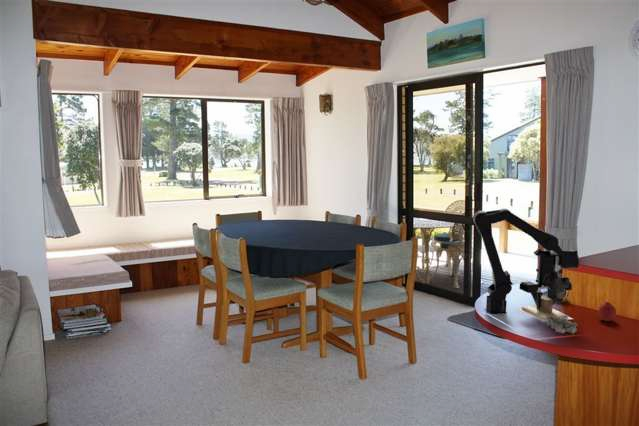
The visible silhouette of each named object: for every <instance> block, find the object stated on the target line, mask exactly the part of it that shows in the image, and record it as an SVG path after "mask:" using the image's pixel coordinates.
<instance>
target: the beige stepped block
mask: <svg viewBox="0 0 639 426" xmlns="http://www.w3.org/2000/svg"><path fill="white" fill-rule="evenodd" d="M553 307H554V304H553V299H550V298H548V297H546V296H541V306H540V309H538V308H537V306H536V305H529V306H522V307H521V308H522V310H524V311H526V312H528V313H530V314H532V315H534V316H536V317H538V318H540V319H542V320H548V319H547V317H546V316H549V317H557V318H558V317H560V319H562V318H567V317H569V316H568V315H567V314H565V313H563V312H561V311H558V310H557V309H555V308H553Z"/></svg>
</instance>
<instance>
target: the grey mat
mask: <svg viewBox="0 0 639 426" xmlns="http://www.w3.org/2000/svg"><path fill="white" fill-rule="evenodd" d="M515 309H516V310H517V311H520V312H522V313H525V314H526V315H528V316H530V317H532V318H534V319H536V320H538V321H540V322H543V323H545V322H546V323H547V320H542V319H540V318H538V317H536V316H534V315H532V314H530V313H528V312H526V311H524V310H522V307H516V308H515ZM564 319H566V321H570V320H574V318H572V317H570V316H568V317H567V318H564Z"/></svg>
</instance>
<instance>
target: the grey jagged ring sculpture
mask: <svg viewBox="0 0 639 426" xmlns="http://www.w3.org/2000/svg"><path fill="white" fill-rule="evenodd" d="M546 317H547V319H548V320H547V322H546V325H547V326H550V328H551V329H554V330H555V332H556V333H561V334H566V333H570V335H572V336H574V335H575V333H577V327H578V326H579V323H577V322H573V321H572V322H571V321H570V320H566V319H564V318H562V319H560V317H558V318H557V317H549V316H546ZM563 326H564V327H565V328H563Z"/></svg>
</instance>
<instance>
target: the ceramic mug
mask: <svg viewBox="0 0 639 426" xmlns="http://www.w3.org/2000/svg"><path fill="white" fill-rule="evenodd" d="M542 292H543V295H542V296H546V297H548V290H546V291H542ZM565 295H566V290H564V292H563V293H560V294H559V295H558V296H557V298H556V300H561V301H562V302H565V301H567V299H568V298H569V296H570V290H568V295H567V297H566V298H565V299H563V298H564V297H565Z"/></svg>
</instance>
